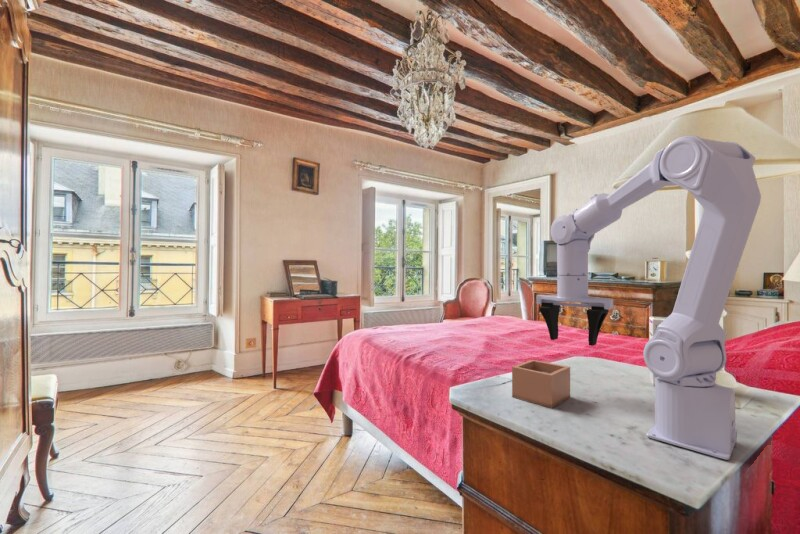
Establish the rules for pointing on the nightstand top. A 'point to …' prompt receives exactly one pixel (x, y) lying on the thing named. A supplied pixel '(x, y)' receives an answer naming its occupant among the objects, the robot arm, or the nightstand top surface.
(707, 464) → the nightstand top surface
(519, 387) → the open square bin
